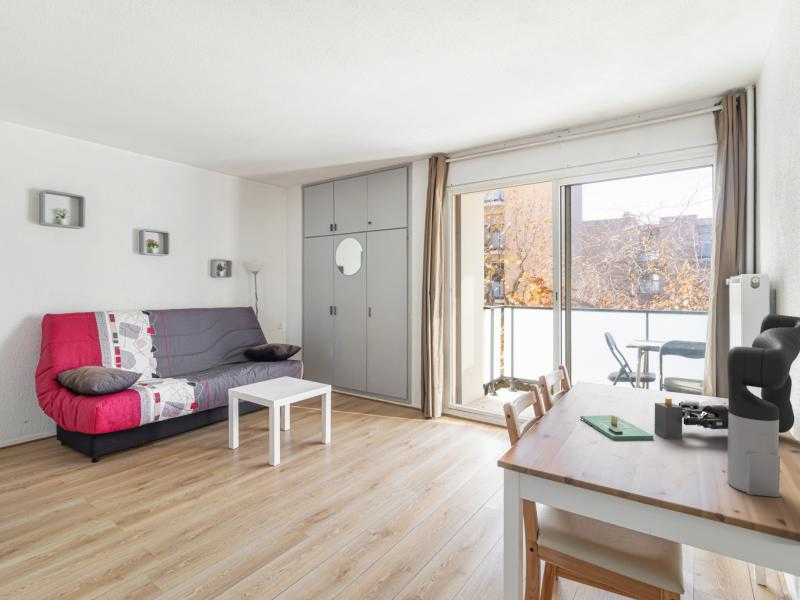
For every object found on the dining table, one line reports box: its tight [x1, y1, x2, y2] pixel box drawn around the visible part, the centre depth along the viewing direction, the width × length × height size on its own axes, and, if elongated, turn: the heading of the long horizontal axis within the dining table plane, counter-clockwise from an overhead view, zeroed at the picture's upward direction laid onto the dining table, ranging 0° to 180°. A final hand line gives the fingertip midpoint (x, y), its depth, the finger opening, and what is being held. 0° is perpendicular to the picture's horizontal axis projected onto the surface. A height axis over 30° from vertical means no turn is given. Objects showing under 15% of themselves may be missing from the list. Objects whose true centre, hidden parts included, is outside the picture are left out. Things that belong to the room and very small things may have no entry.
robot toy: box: [678, 399, 727, 410], centre depth 163 cm, size 12×4×15 cm
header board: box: [579, 414, 654, 441], centre depth 144 cm, size 22×13×4 cm, turn 2°
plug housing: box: [654, 397, 683, 440], centre depth 136 cm, size 5×5×12 cm
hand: (675, 417), depth 137 cm, fingers open, 8 cm apart
